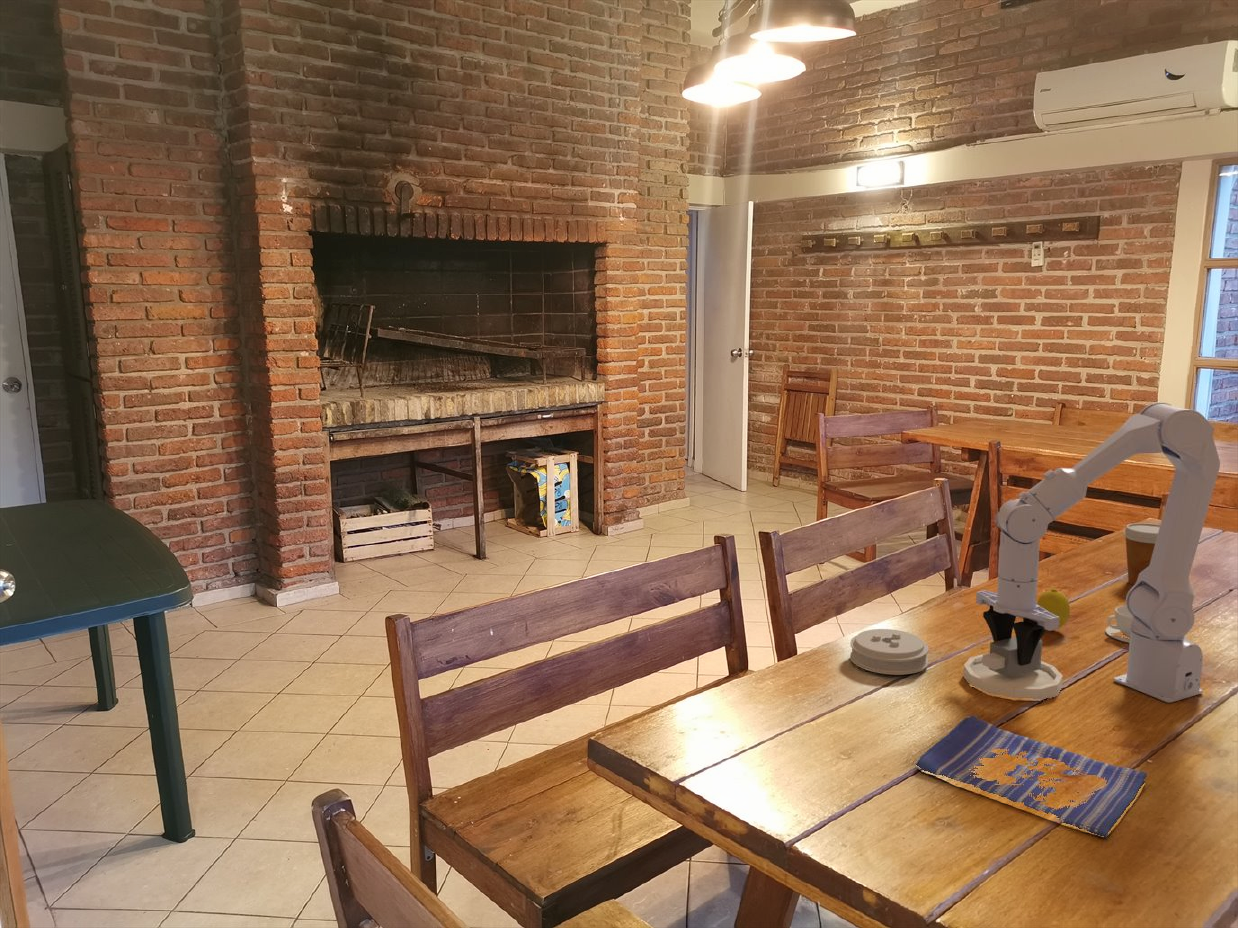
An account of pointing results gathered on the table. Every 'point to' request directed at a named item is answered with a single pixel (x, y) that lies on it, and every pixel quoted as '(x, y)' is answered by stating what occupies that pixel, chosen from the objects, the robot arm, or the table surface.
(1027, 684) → the plate
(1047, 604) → the lemon
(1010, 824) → the table surface
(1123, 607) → the teacup
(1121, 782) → the dish towel
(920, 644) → the lid
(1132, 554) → the disposable coffee cup
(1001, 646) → the connector
